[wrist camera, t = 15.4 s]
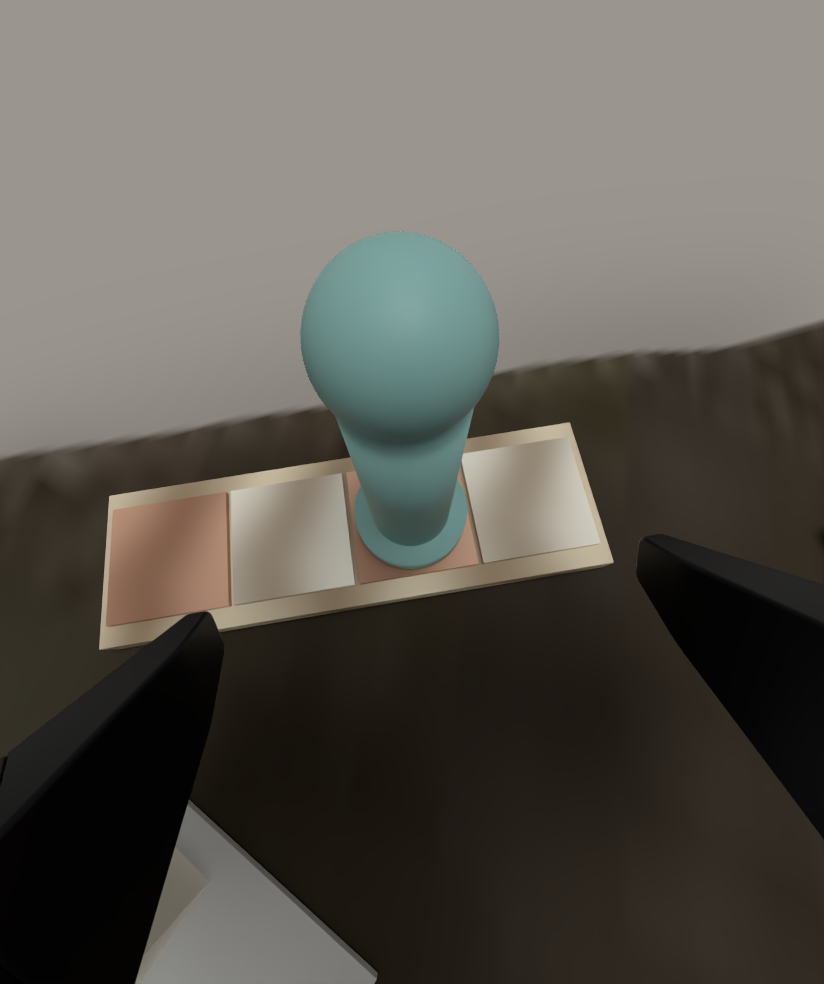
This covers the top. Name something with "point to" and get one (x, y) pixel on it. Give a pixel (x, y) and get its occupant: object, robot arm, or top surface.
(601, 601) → the top surface
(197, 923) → the mat
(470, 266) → the pawn
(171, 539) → the board
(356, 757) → the top surface
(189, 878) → the die
